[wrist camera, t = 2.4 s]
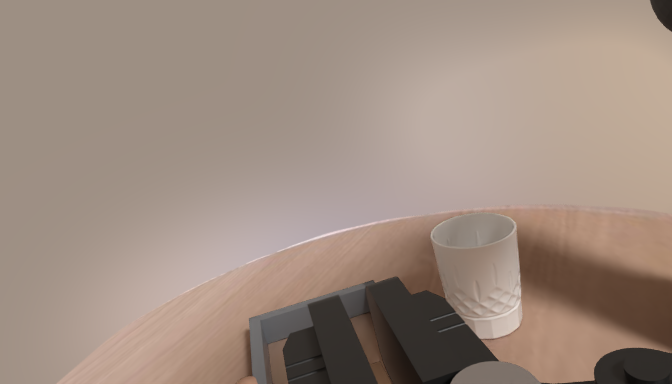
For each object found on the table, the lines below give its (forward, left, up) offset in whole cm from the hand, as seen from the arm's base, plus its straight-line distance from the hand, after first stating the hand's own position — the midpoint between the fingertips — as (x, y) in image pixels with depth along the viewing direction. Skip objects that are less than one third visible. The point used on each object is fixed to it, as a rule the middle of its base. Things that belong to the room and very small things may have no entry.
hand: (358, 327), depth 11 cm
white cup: (-16, -32, -24) cm, 43 cm away
